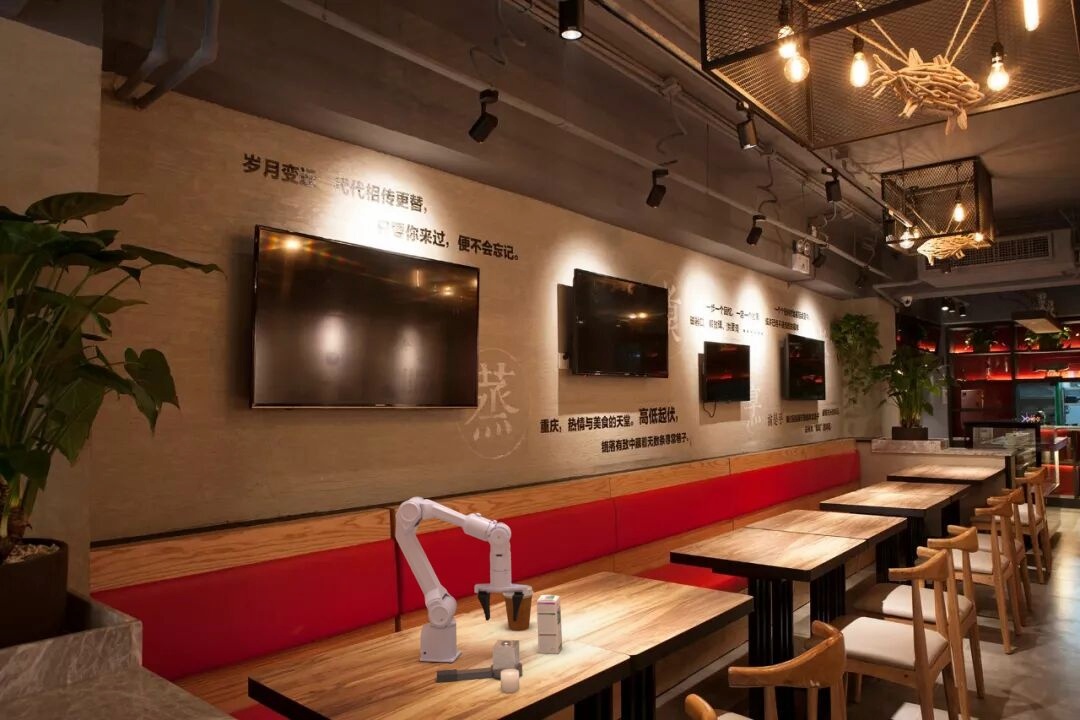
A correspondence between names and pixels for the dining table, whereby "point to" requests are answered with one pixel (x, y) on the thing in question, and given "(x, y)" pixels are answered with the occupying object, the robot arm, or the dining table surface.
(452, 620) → the robot arm
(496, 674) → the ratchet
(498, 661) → the tan square block
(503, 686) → the pale pink cylinder
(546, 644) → the syrup box
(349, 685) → the dining table surface
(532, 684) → the dining table surface
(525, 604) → the disposable coffee cup
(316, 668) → the dining table surface
